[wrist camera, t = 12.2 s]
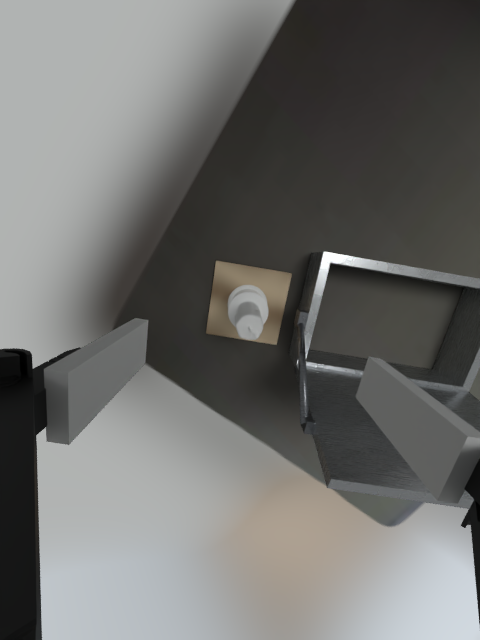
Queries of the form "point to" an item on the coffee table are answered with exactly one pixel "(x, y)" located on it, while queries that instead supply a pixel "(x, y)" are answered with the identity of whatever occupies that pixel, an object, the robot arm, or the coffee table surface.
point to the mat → (238, 275)
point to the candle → (248, 311)
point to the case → (345, 376)
